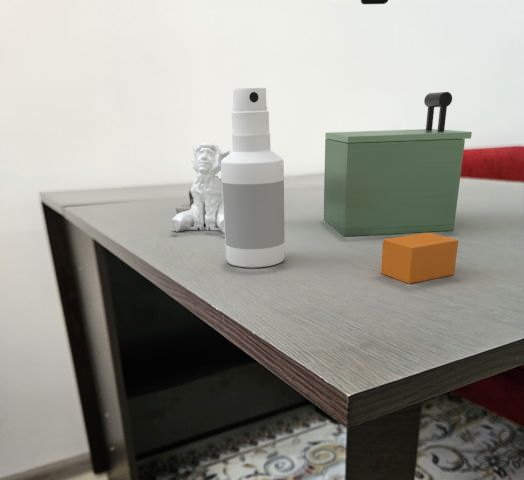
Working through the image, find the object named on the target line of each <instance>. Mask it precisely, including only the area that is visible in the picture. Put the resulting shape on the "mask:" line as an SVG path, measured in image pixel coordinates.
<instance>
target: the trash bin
mask: <svg viewBox="0 0 524 480" xmlns="http://www.w3.org/2000/svg"><path fill="white" fill-rule="evenodd" d="M465 142H466V139H444V140H417V141H391V142H364V143H345V142H340V141H336V140H331V139H326V138H325V139H324V179H323V181H324V182H323V184H324V185H323V220H324V221H325V222H326V223H328V224H329V225H330V226H331V227H332V228H334V229H335V230H336V231H337V232H338V233H339V234H341V235H342V236H343V237H361V236H362V237H363V236H377V235H378V236H379V235H395V234H397V235H398V234H417V233H427V232H428V233H434V232H449V231H450V232H451V231H455V222H456V216H457V215H456V214H457V207H458V200H459V198H458V197H459V192H460V182H461V175H462V167H463V160H464V159H463V158H464V151H465Z"/></svg>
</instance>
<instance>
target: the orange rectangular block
mask: <svg viewBox="0 0 524 480" xmlns="http://www.w3.org/2000/svg"><path fill="white" fill-rule="evenodd" d="M458 249H459V239H457V238H452V237H448V236H444V235H440V234H436V233H433V232H419V233H413V234H408V235H402V236H396V237H390V238H384V239H382V251H381V252H382V253H381V265H380V274H382V275H385V276H388V277H390V278H393V279H395V280H398V281H401V282H403V283H405V284H407V285H410V284H415V283H420V282H424V281H430V280H434V279H439V278H444V277H448V276H454V275H455V271H456V264H457V263H456V262H457V254H458Z"/></svg>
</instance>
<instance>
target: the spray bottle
mask: <svg viewBox="0 0 524 480" xmlns="http://www.w3.org/2000/svg"><path fill="white" fill-rule="evenodd" d="M232 100H233V101H232V103H233V107H232V112H231V126H232V133H231V143H232V151H230V154H229V155H228V156H226V157H225V158H224V159H223V160H222V161H221V171H220V174H221V175H220V176H221V177H220V178H222V194H223V211H224V228H225V233H224V240H225V241H224V243H225V258H226V261H227V263H228V264H230V265H231V266H235V267H240V268H249V269H250V268H253V269H254V268H267V267H272V266H275V265H278V264H280V263H282V262H283V261H284V259H285V257H286V255H285V254H286V253H285V250H286V249H285V248H286V246H285V244H286V243H285V240H286V239H285V182H284V181H285V171H284V170H285V169H284V168H285V166H284V164H285V163H284V159H283V158H282V157H281V156H280V155H279V154H277V153H275V152H274V151H272V150H271V132H270V111H268V106H267V88H266V87H241V88H233V89H232Z"/></svg>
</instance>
